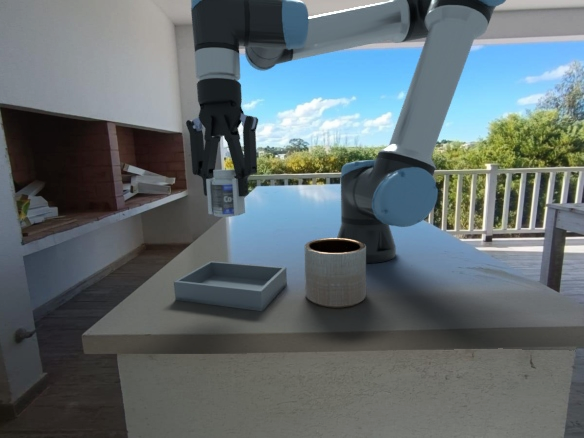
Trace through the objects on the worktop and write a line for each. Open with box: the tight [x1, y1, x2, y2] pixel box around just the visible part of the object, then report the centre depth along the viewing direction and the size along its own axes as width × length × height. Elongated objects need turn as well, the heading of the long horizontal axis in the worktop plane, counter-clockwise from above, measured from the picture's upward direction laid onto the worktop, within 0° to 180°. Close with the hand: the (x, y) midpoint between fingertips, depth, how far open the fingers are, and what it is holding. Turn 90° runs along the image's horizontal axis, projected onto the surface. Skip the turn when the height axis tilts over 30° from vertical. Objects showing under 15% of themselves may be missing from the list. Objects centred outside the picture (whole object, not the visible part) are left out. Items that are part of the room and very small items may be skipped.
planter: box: [304, 237, 367, 309], centre depth 60 cm, size 11×11×10 cm
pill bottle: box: [212, 169, 238, 218], centre depth 62 cm, size 5×5×8 cm
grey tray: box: [173, 260, 288, 312], centre depth 64 cm, size 17×12×4 cm
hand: (226, 213), depth 62 cm, fingers closed on pill bottle, 5 cm apart
